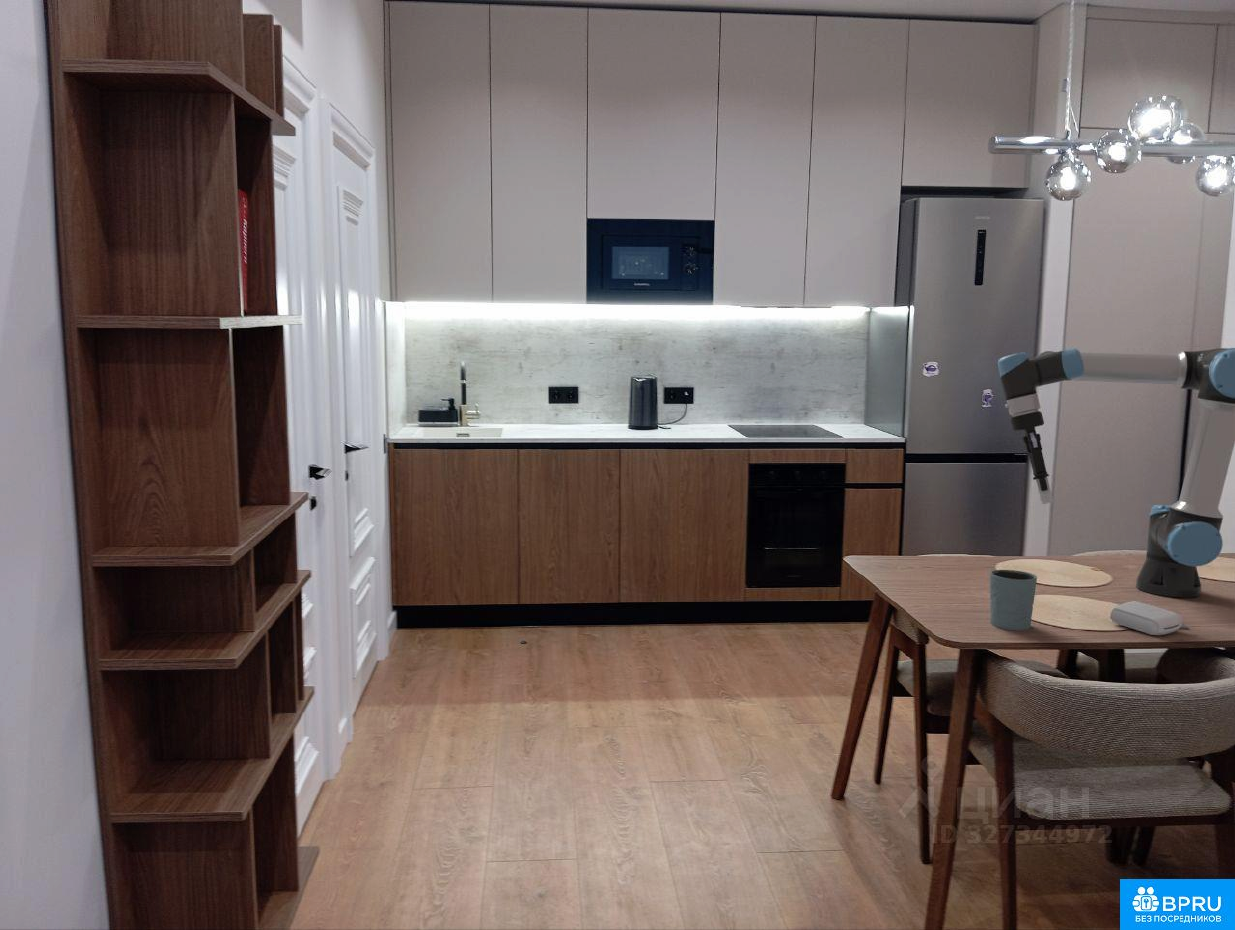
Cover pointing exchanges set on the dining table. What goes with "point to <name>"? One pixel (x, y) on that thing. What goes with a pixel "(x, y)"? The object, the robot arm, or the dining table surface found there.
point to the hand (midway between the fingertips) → (1047, 503)
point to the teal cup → (1012, 599)
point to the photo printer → (1146, 618)
